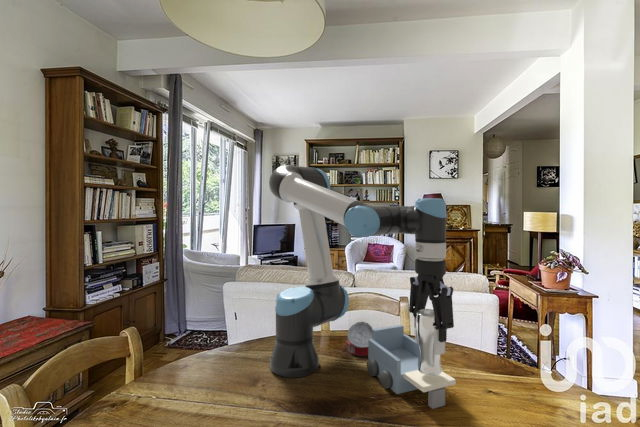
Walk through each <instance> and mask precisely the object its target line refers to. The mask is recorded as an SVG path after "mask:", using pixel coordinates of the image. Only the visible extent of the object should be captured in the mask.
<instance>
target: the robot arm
mask: <svg viewBox="0 0 640 427" xmlns="http://www.w3.org/2000/svg"><path fill="white" fill-rule="evenodd" d="M268 182H269V184H268V185H269V189H270V192H271V193H272V194H273V195H274V196H275V197H276V198H277V199H279V200H281V201H283V202H286V203H293V207H294V208H295V209H296V210H298V214H299V219H300V220H299V221H300V226H301V232H302V233H301V234H302V240H303V248H304V253H305V259H306V260H305V261H306V266H307V274H308V280H307V281H306V283H305V286H297V287H294V286H293V287H289V288H287V289H286V288H285V289H283V290H282V291H280V292H279V293H278V294H277V296H276V298H275V306H274V311H275V343H274V346H273V349H272V353H271V356H270V358H269V369H270V370H271V372H272V373H273V374H275V375H277V376H280V377H283V378H301V377H305V376H309V375H311V374H312V373H314V372H315V371H317V370H318V369H319V364H320V363H319V362H320V358H319V355H318V353H317V351H316V346H315V343H314V328H316V327H319V326H321V325H322V326H323V325H325V324H327V323H330V322H335V321H337V320H338V319H340V318H342V317H343V316H345V314H346V313H347V312H348V308H349V304H350V298H349V293H348V291H347V289H345V286H344V285H342V284H340V280H339V278H338V277H337V276H336V275H335V274H334V270H333V263H332V256H331V250H330V245H329V237H328V232H327V231H328V230H327V224H326V219H325V218H327V219H329V220H331V221H333V222H335V223H337V224H340V225H342V226H344V227H345V229H346V231H347V232H348V234H349V235H351V236H352V237H357V238H369V237H373V236H374V237H376V236H383V235H384V236H385V235H392V234H393V235H395V234H401V235H405V234H406V235H414V238H415V239H414V241H415V245H414V246H415V250H414V251H415V252H414V253H415V257H416V258H415V259H414V260H415V261H414V272H415V273H416V274H417V276H411V277H410V278H409V283H410V290H409V291H410V293H409V307H408V311H409V313H410V314H412V315H413V318H414V330H415V331H414V335H415V336H414V340H415V342H416V343H417V339H416V315H417V310H420V309H426V308H427V307H426V306H427V302H428V300H430V301H431V305H432V309H433V310H434V315H435V319H436V324H437V327H435V328H434V354H436V355H439V354H440V355H443V354H446V342H447V339H448V338H447V337H448V336H447V335H448V334H447V332H448V331H447V330H448V329H453V328H454V326H455V325H454V309H453V308H454V307H453V295H454V294H453V293H454V288H453V286H447V285H446V284H445V281H444V276H445V275H446V274H447V261H446V258H447V218H448V215H447V203H446V200H445V199H443V198H436V197H435V198H430V197H429V198H428V197H427V198H416V199H415V204H414V205H413V206H412V205H411V206H406V205H405V206H404V205H397V206H396V205H383V206H382V205H369V204H367V203H365V202H363V201H360V200H357V199H355V198H353V197H350V196H347V195H344V194H342V193H339V192H337V191H335V190H332V189H331V181H330V178H329V176H328V174H327V173H326V172H325V171H324V170H322V169H320V168H316V167H313V166H308V167H307V166H301V165H300V166H299V165H292V164H285V165H281V166H279V167H277V168H276V169H275V170H273V171H272V172H271V174H270V176H269V181H268ZM441 322H442V324H441Z"/></svg>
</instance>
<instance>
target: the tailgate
mask: <svg viewBox="0 0 640 427" xmlns="http://www.w3.org/2000/svg"><path fill="white" fill-rule="evenodd" d="M403 374H404V378H405V379H406V380H407V381H409V382H410V383H411V384H413V385H414V386H415V387H417V388H418V389H417V390H420V391H421V392H422V393H427V392H428V391H431V390H435V389H439V388H443V387H445V388H446V387H449V386H454V385H456V384H457V383H456V382H457V380H456V379H455V378H454V377H452V376H451V375H449V374H447V373H445V372H444V371H442V373H441V374H440V375H438V376H428V375H424V374H422V373H420V372H419V371H418V370H415V371H411V372H406V373H403Z"/></svg>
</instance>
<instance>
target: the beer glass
mask: <svg viewBox="0 0 640 427" xmlns="http://www.w3.org/2000/svg"><path fill="white" fill-rule="evenodd" d="M441 324H442V322H441ZM435 327H437V324H436V319H435V315H434V310H433V308H425V309H420V310H417V315H416V339H417V345H418V351H419V359H418V364H417V370H418V371H419V372H420V373H422V374H424V375H428V376H438V375H440V374H441V373H442V372H443V369H442V364H441V354H439V355H436V354H434V328H435Z"/></svg>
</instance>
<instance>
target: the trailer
mask: <svg viewBox="0 0 640 427" xmlns="http://www.w3.org/2000/svg"><path fill="white" fill-rule="evenodd" d="M404 330H405V328H404V325H403V324H397V325H390V326H384V327H378V328H377V327H376V328H372V339H369V341H368V355H367V356H368V360H367V361H366V369H367V373H368V374H369V376H370V377H375V376H376V377H377V378H379V382H380V385H381V387H382V388H383V389H390V390H391V391H392V392H394V393H395V394H396V395H401V394H403V393H404V394H405V393H407V392H408V393H409V392H412V391H416V390H419V389H418V388H417V387H415V386H414V385H413V384H411V383H410V382H409V381H407V380H406V379H405V378H404V374H403V373H406V372H411V371H415V370H417V364H418V359H419V351H418V345H417V343H416V342H415V338H412V337H410V336H409V335H407V334H406V333H404V332H405V331H404ZM427 392H428V395H427V399H428V400H427V401H428V402H427V405H428V407H429V408H430V409H432V410H434V409H437V408H441V407H444V406H446V387H443V388H439V389H435V390H431V391H427Z"/></svg>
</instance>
